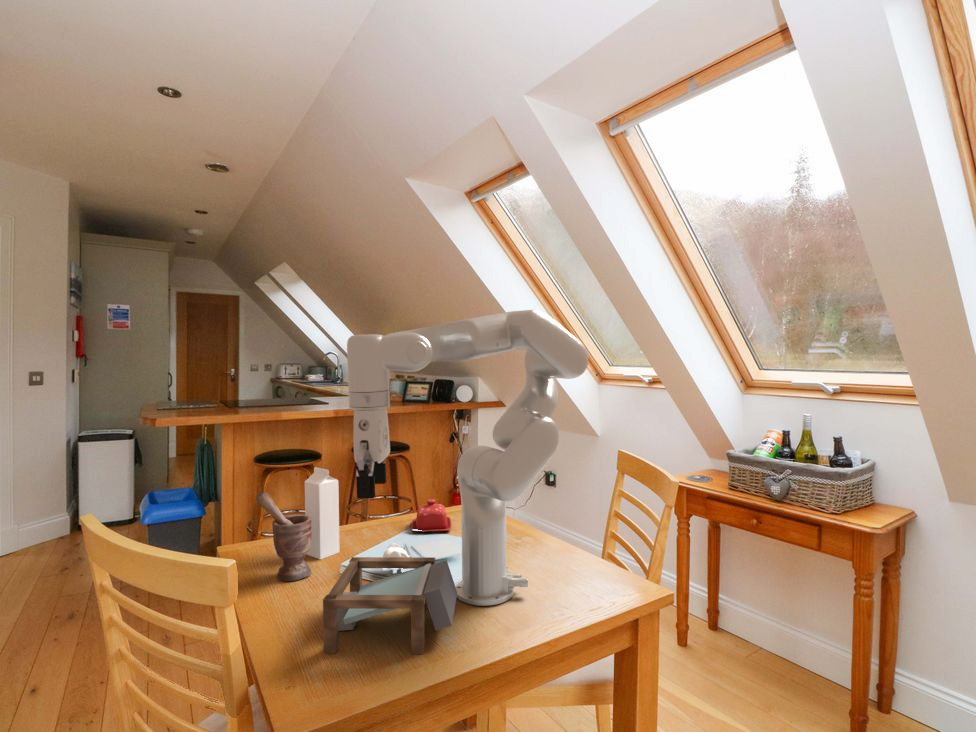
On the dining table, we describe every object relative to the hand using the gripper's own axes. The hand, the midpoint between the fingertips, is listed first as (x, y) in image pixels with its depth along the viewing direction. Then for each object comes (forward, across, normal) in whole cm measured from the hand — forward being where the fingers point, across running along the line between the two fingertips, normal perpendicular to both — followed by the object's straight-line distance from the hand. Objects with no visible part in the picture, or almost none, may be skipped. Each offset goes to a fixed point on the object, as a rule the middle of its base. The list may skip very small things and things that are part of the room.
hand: (372, 490), depth 105 cm
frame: (+26, 0, -2) cm, 26 cm away
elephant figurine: (+26, +24, +1) cm, 36 cm away
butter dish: (+27, +56, -4) cm, 62 cm away
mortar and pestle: (+26, +22, +26) cm, 42 cm away
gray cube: (+23, 0, +4) cm, 23 cm away
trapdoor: (+25, 0, -6) cm, 26 cm away
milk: (+26, +36, +22) cm, 49 cm away
